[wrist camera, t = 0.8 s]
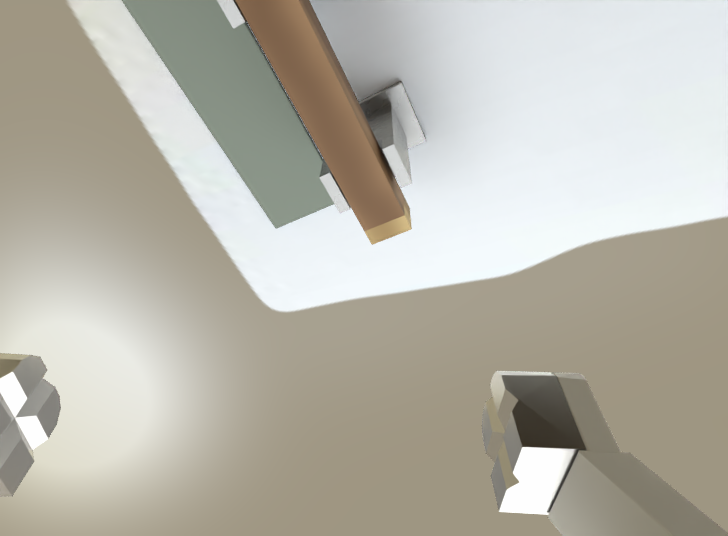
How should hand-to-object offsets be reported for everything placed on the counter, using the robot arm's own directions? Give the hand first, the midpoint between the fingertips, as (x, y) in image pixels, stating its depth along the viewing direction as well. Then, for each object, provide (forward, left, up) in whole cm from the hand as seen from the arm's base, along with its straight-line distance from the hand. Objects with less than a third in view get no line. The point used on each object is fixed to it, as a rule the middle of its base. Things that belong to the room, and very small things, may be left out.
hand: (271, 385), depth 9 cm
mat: (+10, +1, -33) cm, 35 cm away
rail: (+2, +1, -26) cm, 26 cm away
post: (+2, +7, -33) cm, 34 cm away
